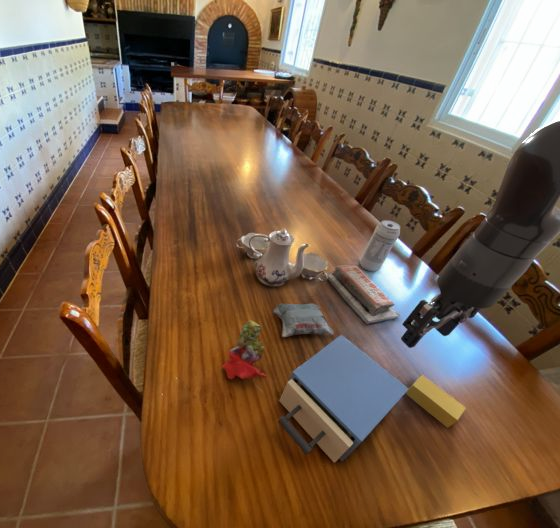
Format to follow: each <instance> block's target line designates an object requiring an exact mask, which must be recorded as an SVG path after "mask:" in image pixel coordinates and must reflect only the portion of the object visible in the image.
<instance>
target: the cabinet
mask: <svg viewBox="0 0 560 528" xmlns="http://www.w3.org/2000/svg"><path fill="white" fill-rule="evenodd" d="M291 379H292V380H293V381H294V382H295V383H296V384H297V383H298V381H299V382H300V383H301V384H302V385H303V386H304V387H305V388H306V389H307V390H308V391H309V392H310V393H311V394H312V395H313V396H314V397H315V399H316V400H317V401H318V402H319V403H320V404H321V405H322V406H323V407H324V408H325V409H326V410H327V411H328V412H329V413H330V414H331V415H332V416H333V417H334V418H335V419H336V420H337V421H338V422H339V423H340V424H341V425H342V426H343V427H344V428H345V429H346V430H347V431H348V432H349V433H350V434H351V435H352V437H351V438H350V439H351V440H352V441H353V442H354V443H353V444H352V445H351V447H350V448H349V449H348V450H347V451H346V452H345V453H344V454H343V455H342V456H341V457H340V458H339V459H338V460H340V462H341V463H342V462H344V460H345V459H347V458H348V456H350V455H351V454H352V452H353V451H355V449H356V448H357V447H359V446H360V444H361V443H363V442H364V440H365V439H367V437H368V436H369V435H370V433H371V432H372V431H373V430H374V429H376V427H377V425H378V424H379V423H380V422H382V420H383V419H384V418H385V417H386V416H387V414H388V413H389V412H390V411H391V410H392V409H393V407H394V406H395V405H396V404H397V403H398V402H399V401H400V400H401V399H402V397H404V395H405V393H406V392H407V390H408V389H409V387H408V386H406V385H405V384H403V383H402V382H401V381H400V380H399V379H397V378H396V377H395V376H394V375H392V374H391V373H390V372H389V371H388V370H387V369H385V368H384V367H382V366H381V365H380V364H378V362H376V361H375V360H374V359H372V358H371V357H370V356H369V355H368V354H366V353H365V352H364V351H363V350H361V349H360V348H359V347H357V346H356V345H355V344H354V343H353V342H351V341H350V340H349V339H347V338H346V337H345V336H344V335H343V334H340V335H339V336H337V337H336V338H335V339H334V340H332V341H331V342H330V343H328V344H327V345H326V346H324V347H323V348H321V350H319V351H318V352H316V353H315V354H314V355H312V356H311V357H310V358H309V359H307V360H306V361H305V362H303V363H302V364H301V365H299V366H298V367H297V368H295V369H294V370H293V371H292V372H291V375H290V377H289V379H288V381H290V380H291Z"/></svg>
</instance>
